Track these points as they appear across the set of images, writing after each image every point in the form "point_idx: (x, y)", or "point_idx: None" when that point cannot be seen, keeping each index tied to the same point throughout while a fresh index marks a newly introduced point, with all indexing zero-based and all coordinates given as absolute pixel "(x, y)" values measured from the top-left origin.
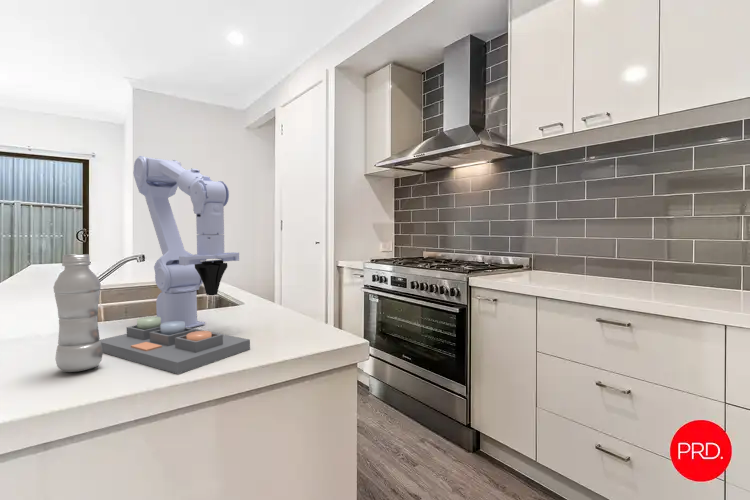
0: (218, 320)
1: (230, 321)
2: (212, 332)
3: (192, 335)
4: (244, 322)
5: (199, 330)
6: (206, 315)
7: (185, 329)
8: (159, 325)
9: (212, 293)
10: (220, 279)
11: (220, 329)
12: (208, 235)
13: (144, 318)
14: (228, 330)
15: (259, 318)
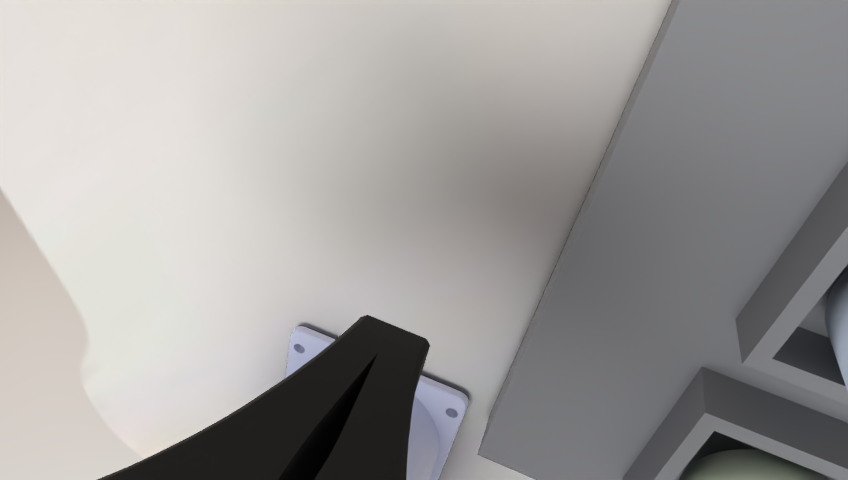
0: (198, 298)
1: (180, 228)
2: (640, 105)
3: None
4: (155, 135)
5: (591, 234)
6: (159, 390)
7: (838, 265)
8: (755, 466)
9: (421, 354)
10: (240, 420)
11: (344, 196)
12: None
13: None
14: (345, 133)
15: (40, 91)
